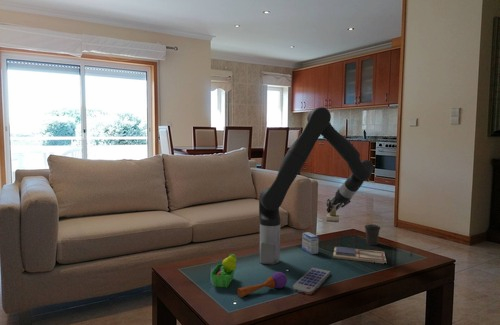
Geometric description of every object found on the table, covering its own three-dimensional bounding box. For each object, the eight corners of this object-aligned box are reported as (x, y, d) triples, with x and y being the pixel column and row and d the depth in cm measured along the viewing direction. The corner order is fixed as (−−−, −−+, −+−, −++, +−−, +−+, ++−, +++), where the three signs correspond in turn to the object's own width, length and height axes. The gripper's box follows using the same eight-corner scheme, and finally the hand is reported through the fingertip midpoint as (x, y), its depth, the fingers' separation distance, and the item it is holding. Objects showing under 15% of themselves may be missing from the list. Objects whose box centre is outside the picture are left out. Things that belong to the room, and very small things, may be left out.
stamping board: (386, 263, 160) (386, 261, 160) (332, 258, 166) (333, 255, 166) (384, 253, 173) (384, 251, 173) (334, 248, 180) (334, 246, 180)
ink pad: (355, 256, 166) (355, 254, 166) (335, 254, 168) (335, 251, 168) (355, 250, 174) (355, 248, 174) (336, 248, 177) (336, 246, 177)
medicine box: (301, 249, 178) (302, 232, 177) (309, 248, 180) (309, 231, 179) (310, 254, 171) (311, 237, 170) (318, 253, 173) (318, 235, 172)
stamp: (338, 222, 180) (339, 205, 179) (326, 221, 181) (326, 205, 180) (339, 219, 185) (339, 203, 185) (327, 218, 187) (327, 202, 186)
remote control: (330, 275, 147) (330, 270, 147) (311, 296, 128) (311, 290, 127) (312, 271, 151) (312, 266, 151) (290, 291, 132) (290, 285, 131)
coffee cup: (364, 245, 186) (365, 226, 185) (363, 240, 194) (364, 222, 193) (380, 246, 184) (381, 227, 183) (379, 242, 192) (379, 223, 191)
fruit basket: (218, 275, 144) (218, 248, 143) (239, 277, 143) (239, 250, 142) (210, 287, 133) (210, 258, 132) (233, 289, 132) (233, 260, 131)
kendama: (234, 283, 128) (280, 268, 138) (237, 299, 128) (282, 284, 138) (242, 286, 123) (288, 271, 133) (244, 303, 123) (291, 287, 133)
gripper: (354, 184, 178) (338, 204, 190) (331, 186, 172) (316, 206, 184) (361, 196, 173) (344, 216, 185) (338, 198, 168) (322, 218, 180)
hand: (330, 211), depth 185 cm, fingers closed on stamp, 3 cm apart
